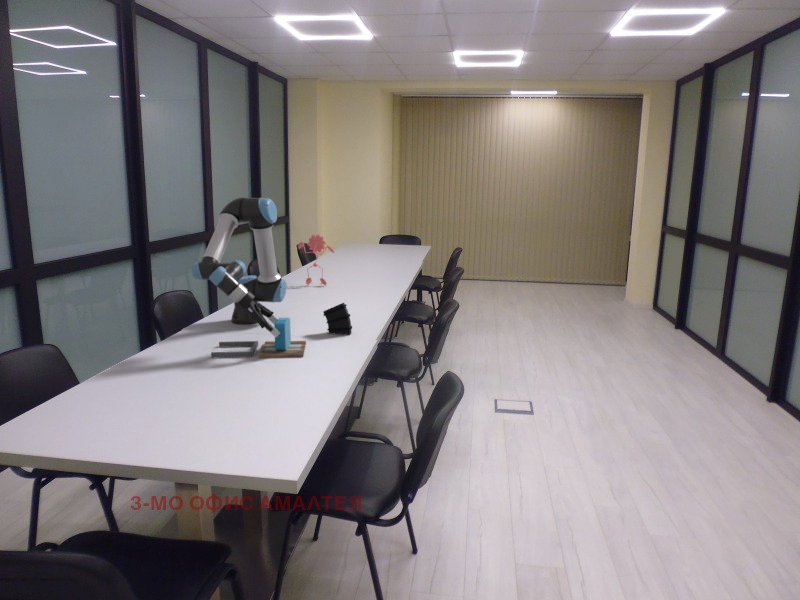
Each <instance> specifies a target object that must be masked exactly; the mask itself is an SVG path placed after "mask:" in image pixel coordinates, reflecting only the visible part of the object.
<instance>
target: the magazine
mask: <svg viewBox="0 0 800 600" xmlns="http://www.w3.org/2000/svg"><path fill="white" fill-rule="evenodd" d="M322 312H323V317H325V318H326V324H327V326H328V327H327V331H328V334H330V333H335V334H334V335H344V334H347V335H348V336H349V335H351V334H352V329H353V325H352V324H351V318H350V317H351V314H350V313H349V311H348V308H347V304H345V302H342V303H339V304H338V305H335V306H332V307H330V308H328V309H326V310H324V311H322ZM347 335H346V336H347Z"/></svg>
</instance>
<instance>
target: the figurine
mask: <svg viewBox="0 0 800 600" xmlns="http://www.w3.org/2000/svg"><path fill="white" fill-rule="evenodd" d="M308 241H309V242H307V243H306V244H307V246H308V248H309V250H310V251H308V252H306V248H305V242H304V241H301V242H299V243H298V244H297V248H298V250H300V249H303V251H304V253H305V254H309V253H310V254H312V253H313V254H314V255H316V258H315V262H313V265H312V266H310V267H307V272H309V269H311V268H312V267H319V268H320V269H321V271H322V272H321V273H322V274H321V277H320V278H319V280H320V286H322V284H323V286H327V281H326V280H325V279H324V278H323V274H324V269H323V268H322V267H321V266H319V264H318V263H317V259H318V258H319V257H318V255H320V256H322V255H323V254H324V252H325V251H326V249H328V250H329V251H330V252H331V253H333V254H334V253H335V251H334V249H333V248H332V246H330V245H328V244H327V245H326V241H325V240H324V237H323V236H320V234H317V235H316V236H315V234H312V235H311V237H309V238H308ZM325 245H326V247H325ZM322 250H323V251H322ZM309 275H310V273H307V276H308V277H307V278H306V280H305V284H306V285H307V287H310V286H309V285H310V283H311V284H312V281H313V280H312V278H311V277H310V276H309Z"/></svg>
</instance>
